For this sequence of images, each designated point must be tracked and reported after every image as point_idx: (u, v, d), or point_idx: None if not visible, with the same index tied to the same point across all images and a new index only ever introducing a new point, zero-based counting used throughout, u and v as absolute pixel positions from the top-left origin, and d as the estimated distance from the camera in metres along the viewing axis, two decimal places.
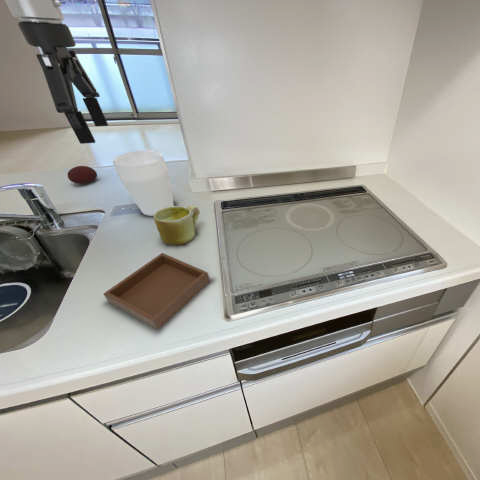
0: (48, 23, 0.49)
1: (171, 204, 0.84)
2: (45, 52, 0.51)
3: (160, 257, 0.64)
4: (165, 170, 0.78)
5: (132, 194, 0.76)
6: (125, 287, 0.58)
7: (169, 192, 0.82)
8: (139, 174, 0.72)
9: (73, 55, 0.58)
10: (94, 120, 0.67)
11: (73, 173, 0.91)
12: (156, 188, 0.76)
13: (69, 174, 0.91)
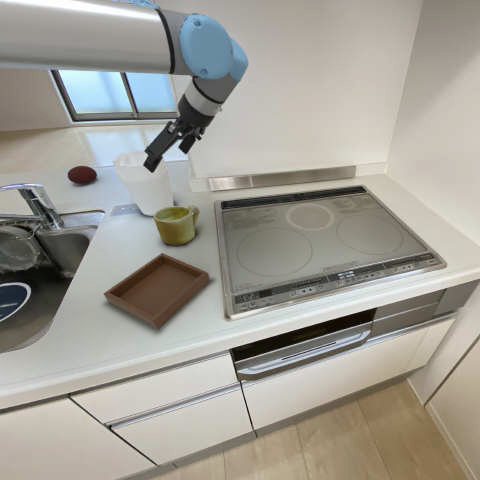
0: (199, 113, 0.58)
1: (171, 204, 0.84)
2: (179, 119, 0.59)
3: (160, 257, 0.64)
4: (165, 170, 0.78)
5: (132, 194, 0.76)
6: (125, 287, 0.58)
7: (169, 192, 0.82)
8: (139, 174, 0.72)
9: None
10: (180, 145, 0.75)
11: (73, 173, 0.91)
12: (155, 188, 0.76)
13: (69, 174, 0.91)
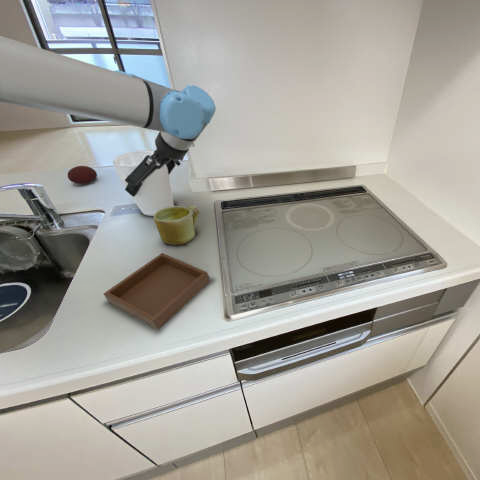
0: (173, 148, 0.66)
1: (171, 204, 0.84)
2: (156, 153, 0.67)
3: (160, 257, 0.64)
4: (165, 170, 0.78)
5: None
6: (125, 287, 0.58)
7: (169, 192, 0.82)
8: None
9: None
10: None
11: (73, 173, 0.91)
12: (155, 188, 0.76)
13: (69, 174, 0.91)
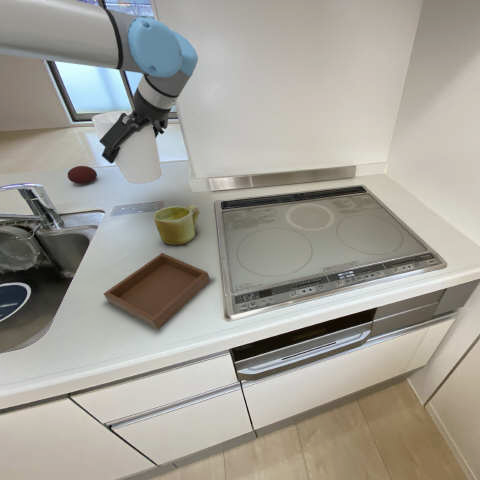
0: (153, 106, 0.61)
1: (158, 172, 0.77)
2: (134, 112, 0.61)
3: (160, 257, 0.64)
4: (151, 131, 0.70)
5: None
6: (125, 287, 0.58)
7: (156, 158, 0.75)
8: None
9: None
10: None
11: (73, 173, 0.91)
12: (140, 151, 0.69)
13: (69, 174, 0.91)
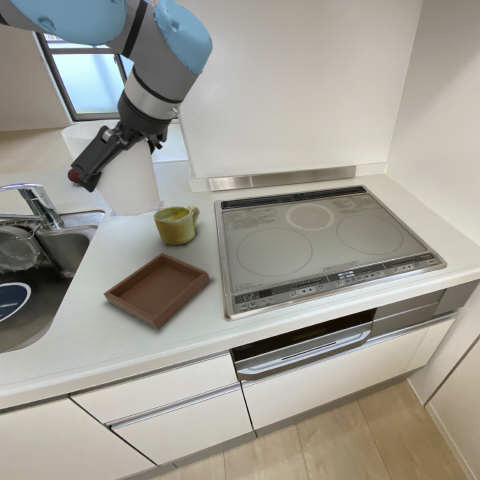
0: (146, 116, 0.42)
1: (156, 199, 0.59)
2: (120, 124, 0.43)
3: (160, 257, 0.64)
4: (145, 148, 0.52)
5: None
6: (125, 287, 0.58)
7: (152, 182, 0.56)
8: None
9: None
10: None
11: (73, 173, 0.91)
12: (130, 175, 0.51)
13: (69, 174, 0.91)
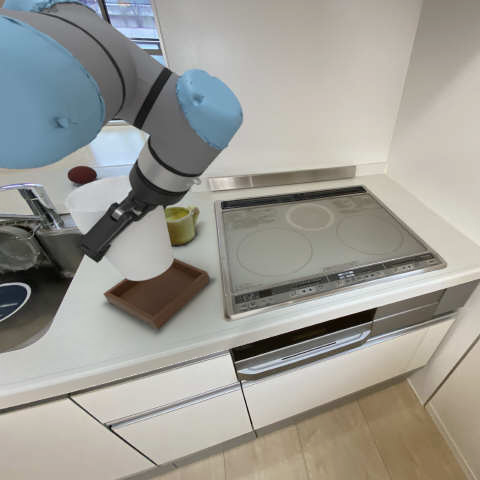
0: (163, 189, 0.36)
1: (169, 259, 0.53)
2: (132, 197, 0.37)
3: None
4: (159, 210, 0.46)
5: None
6: (125, 287, 0.58)
7: (166, 242, 0.50)
8: None
9: None
10: None
11: (73, 173, 0.91)
12: (142, 242, 0.45)
13: (69, 174, 0.91)
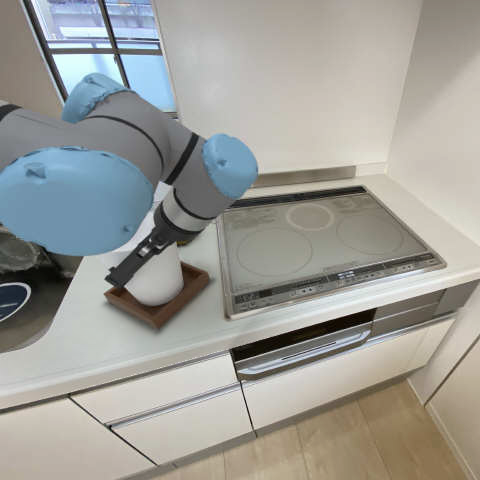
0: (184, 229, 0.40)
1: (180, 285, 0.58)
2: (156, 235, 0.41)
3: None
4: (172, 244, 0.51)
5: None
6: None
7: (178, 271, 0.55)
8: None
9: None
10: None
11: None
12: (158, 274, 0.50)
13: None
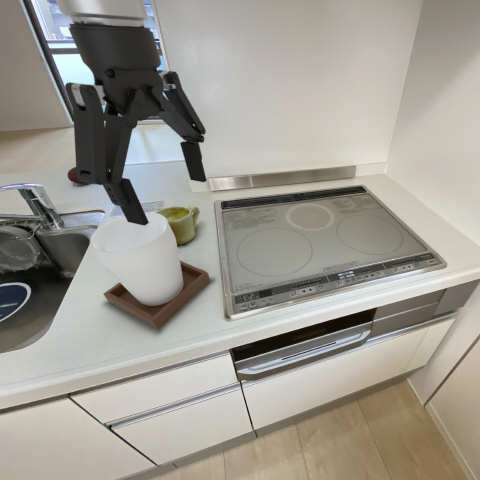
0: (102, 25, 0.25)
1: (180, 285, 0.58)
2: (95, 78, 0.27)
3: None
4: (172, 244, 0.51)
5: (122, 283, 0.50)
6: None
7: (178, 271, 0.55)
8: (132, 260, 0.45)
9: (172, 80, 0.35)
10: (190, 172, 0.45)
11: (73, 173, 0.91)
12: (158, 274, 0.50)
13: (69, 174, 0.91)
